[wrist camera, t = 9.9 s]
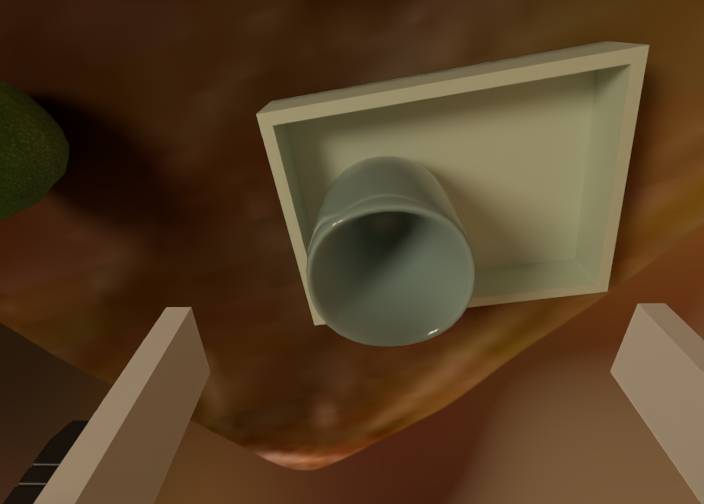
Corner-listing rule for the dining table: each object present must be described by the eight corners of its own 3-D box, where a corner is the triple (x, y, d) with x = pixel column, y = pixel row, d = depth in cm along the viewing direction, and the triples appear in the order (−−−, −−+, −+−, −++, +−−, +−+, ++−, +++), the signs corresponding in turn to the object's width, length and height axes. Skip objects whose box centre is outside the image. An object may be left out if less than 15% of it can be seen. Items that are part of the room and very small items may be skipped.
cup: (442, 133, 25) (482, 194, 16) (442, 245, 28) (476, 343, 20) (315, 147, 25) (289, 212, 17) (333, 255, 29) (318, 353, 20)
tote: (271, 101, 25) (256, 114, 21) (605, 41, 23) (649, 44, 19) (320, 291, 32) (314, 325, 28) (579, 259, 30) (607, 291, 26)
